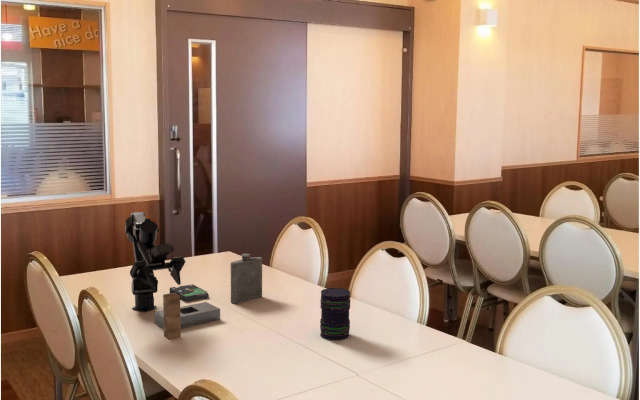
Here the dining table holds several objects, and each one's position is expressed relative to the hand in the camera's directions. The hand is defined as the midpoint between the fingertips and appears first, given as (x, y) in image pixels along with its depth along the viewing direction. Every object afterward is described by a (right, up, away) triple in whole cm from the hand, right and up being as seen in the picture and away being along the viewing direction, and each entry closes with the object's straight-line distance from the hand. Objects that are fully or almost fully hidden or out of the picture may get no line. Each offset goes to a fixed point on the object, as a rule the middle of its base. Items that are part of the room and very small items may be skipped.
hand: (167, 286), depth 226 cm
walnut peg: (+3, -16, -5) cm, 17 cm away
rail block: (+5, -14, +10) cm, 17 cm away
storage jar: (+56, -16, -2) cm, 58 cm away
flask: (+22, -10, +36) cm, 44 cm away
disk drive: (-1, -10, +41) cm, 42 cm away
